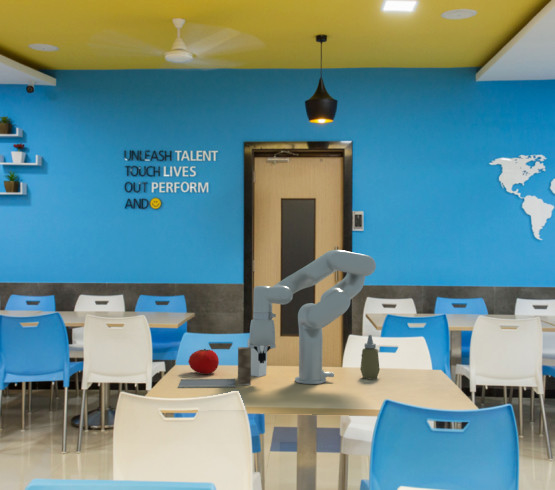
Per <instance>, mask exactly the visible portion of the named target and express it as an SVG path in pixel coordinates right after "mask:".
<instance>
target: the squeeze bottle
mask: <svg viewBox="0 0 555 490" xmlns="http://www.w3.org/2000/svg"><path fill="white" fill-rule="evenodd" d="M380 370H381V369H380V358H379V350H378V349H377V348H376V343H374V341H373V337H372V334H368V336H367V342H366V343H364V348H362V351H361V359H360V373H361V376H362V378H363V379H365V378H366V379H365V380H376V379H378V376H379V373H380Z"/></svg>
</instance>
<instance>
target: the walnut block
mask: <svg viewBox="0 0 555 490" xmlns="http://www.w3.org/2000/svg"><path fill="white" fill-rule="evenodd" d="M251 377H252V376H251V348H249V347H248V346H245V347H243V346H239V347H237V385H238V386H250V385H251V384H252V383H251V382H252V381H251V379H252V378H251Z"/></svg>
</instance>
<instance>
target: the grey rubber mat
mask: <svg viewBox="0 0 555 490" xmlns="http://www.w3.org/2000/svg"><path fill="white" fill-rule="evenodd" d="M179 381H180V382H179V384H178V385H177V389H191V388H192V389H199V388H200V389H202V388H203V389H204V388H206V389H208V388H211V389H212V388H215V389H216V388H236V378H181V379H180V380H179Z"/></svg>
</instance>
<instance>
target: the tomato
mask: <svg viewBox="0 0 555 490" xmlns="http://www.w3.org/2000/svg"><path fill="white" fill-rule="evenodd" d="M219 359H220V358H219V356H218V354H217V353H216V352H215V351H214V350H212V349H206V348H203V349H198V350H196V351H194V352H192V353H191V354H190V356H189V359H188V365H189V367H190V369H191V370H193V371H194V372H196V373H198V374H204V375H205V374H206V375H207V374H209V375H210V374H212V373H214V372H216V371H217V369H218V366H219V363H220V362H219V361H220V360H219Z"/></svg>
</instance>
